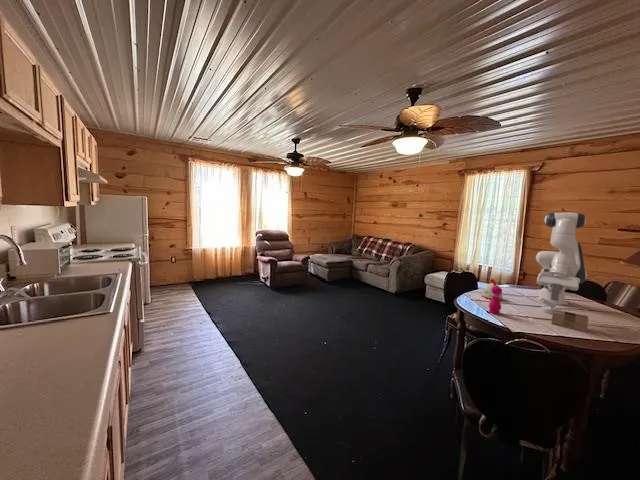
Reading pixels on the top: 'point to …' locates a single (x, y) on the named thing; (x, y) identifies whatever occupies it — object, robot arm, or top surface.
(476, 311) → the top surface
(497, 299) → the pepper mill
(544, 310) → the wall hook
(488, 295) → the kitchen timer
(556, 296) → the rail bracket
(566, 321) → the wooden block
